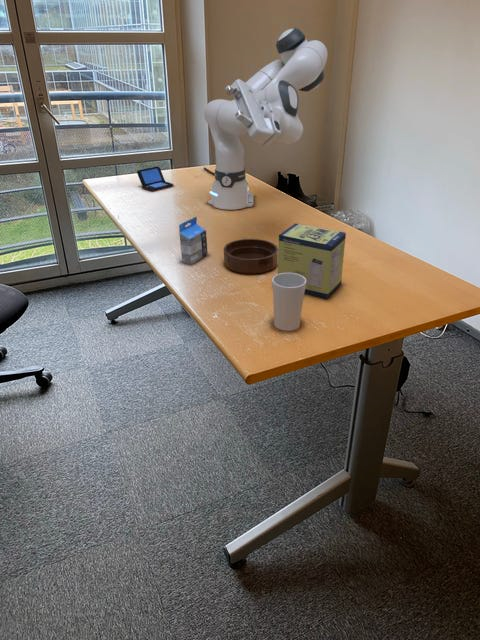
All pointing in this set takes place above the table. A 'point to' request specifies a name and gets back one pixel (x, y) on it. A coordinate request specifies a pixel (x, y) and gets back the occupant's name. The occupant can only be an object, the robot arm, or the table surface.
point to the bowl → (250, 255)
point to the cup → (288, 300)
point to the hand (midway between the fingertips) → (232, 101)
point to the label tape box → (192, 241)
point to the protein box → (313, 257)
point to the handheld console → (152, 179)
